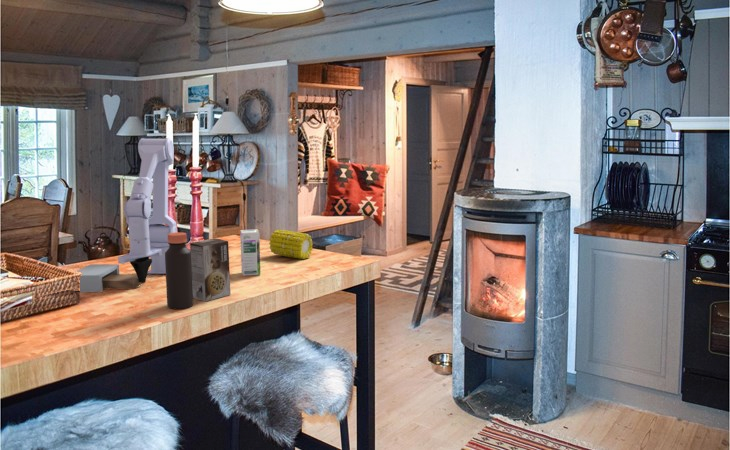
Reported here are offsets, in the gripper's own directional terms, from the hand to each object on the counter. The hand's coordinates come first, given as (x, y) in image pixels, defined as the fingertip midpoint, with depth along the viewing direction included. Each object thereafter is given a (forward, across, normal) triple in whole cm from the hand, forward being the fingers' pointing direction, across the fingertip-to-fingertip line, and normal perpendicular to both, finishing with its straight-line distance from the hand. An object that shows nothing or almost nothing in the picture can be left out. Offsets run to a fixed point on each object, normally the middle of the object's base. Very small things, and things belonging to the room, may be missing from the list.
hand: (142, 282), depth 198 cm
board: (+1, +4, -8) cm, 9 cm away
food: (+2, -57, +12) cm, 59 cm away
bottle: (+1, +9, +26) cm, 28 cm away
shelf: (+1, +7, -12) cm, 14 cm away
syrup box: (+2, -30, +17) cm, 34 cm away
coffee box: (+2, -3, +26) cm, 26 cm away
